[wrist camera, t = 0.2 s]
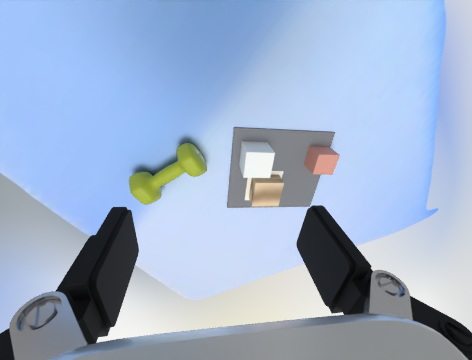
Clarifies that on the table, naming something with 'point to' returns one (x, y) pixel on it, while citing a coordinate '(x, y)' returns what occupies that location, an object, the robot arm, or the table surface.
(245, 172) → the grey cube
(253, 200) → the oak base
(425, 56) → the table surface
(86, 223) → the table surface
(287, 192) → the grey mat
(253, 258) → the table surface
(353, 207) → the table surface
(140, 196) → the dumbbell
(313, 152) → the red cube
